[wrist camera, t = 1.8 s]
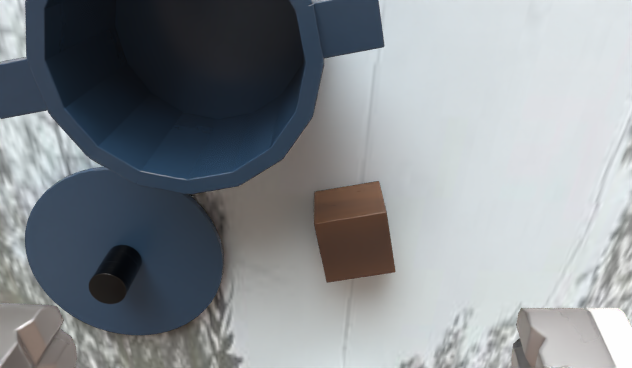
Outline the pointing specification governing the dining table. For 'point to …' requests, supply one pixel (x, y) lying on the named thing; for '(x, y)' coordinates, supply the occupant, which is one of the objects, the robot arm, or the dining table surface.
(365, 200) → the block
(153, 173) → the pot
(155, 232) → the lid
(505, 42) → the dining table surface
